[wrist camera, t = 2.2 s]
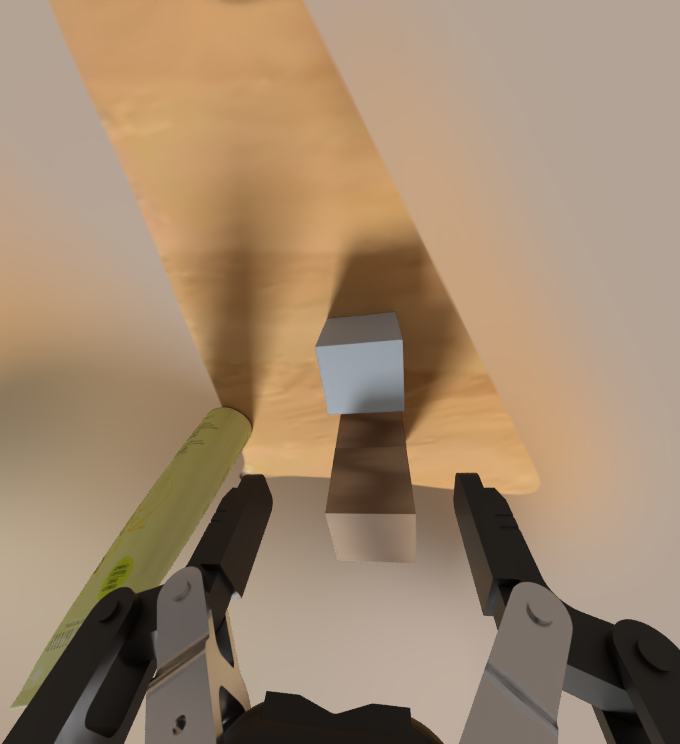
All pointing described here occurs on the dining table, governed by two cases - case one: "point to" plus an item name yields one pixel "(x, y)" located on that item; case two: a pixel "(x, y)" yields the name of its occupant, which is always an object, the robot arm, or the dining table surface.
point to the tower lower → (371, 430)
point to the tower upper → (372, 505)
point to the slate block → (362, 364)
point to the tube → (154, 528)
